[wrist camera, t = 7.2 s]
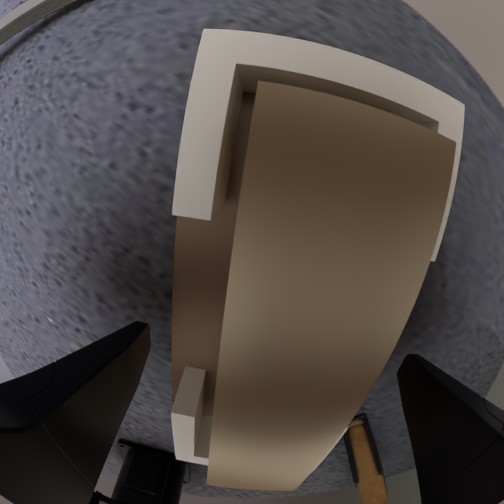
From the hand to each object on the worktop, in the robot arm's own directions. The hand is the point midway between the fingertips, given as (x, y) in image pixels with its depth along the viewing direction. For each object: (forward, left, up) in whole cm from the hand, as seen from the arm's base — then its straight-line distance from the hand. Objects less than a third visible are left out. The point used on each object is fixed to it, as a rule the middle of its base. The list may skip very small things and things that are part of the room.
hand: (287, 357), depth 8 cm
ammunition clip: (-13, -10, -4) cm, 17 cm away
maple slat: (0, 0, -3) cm, 3 cm away
